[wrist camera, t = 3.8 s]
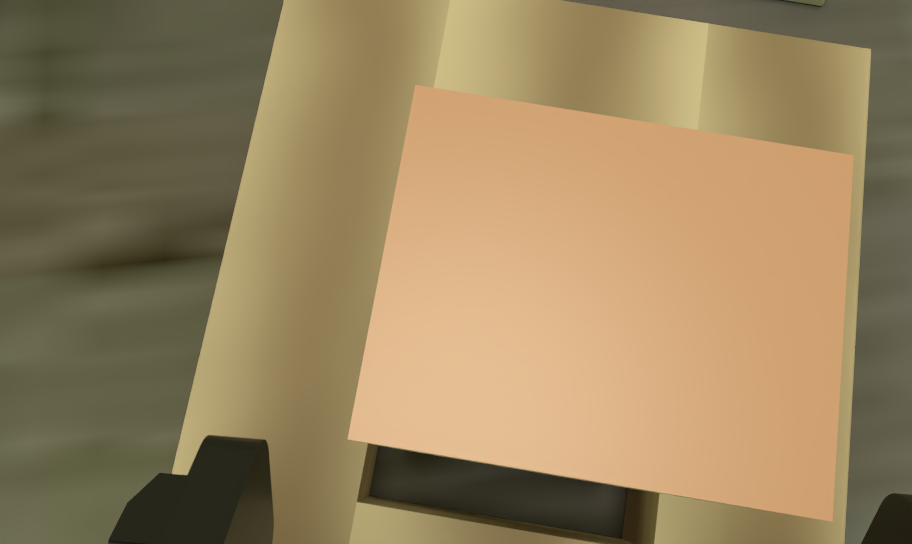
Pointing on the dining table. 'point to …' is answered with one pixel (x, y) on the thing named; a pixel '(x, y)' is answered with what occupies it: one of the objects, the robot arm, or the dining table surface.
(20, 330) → the dining table surface
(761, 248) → the plug
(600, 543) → the wooden peg board
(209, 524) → the robot arm
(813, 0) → the mat
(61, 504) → the dining table surface
